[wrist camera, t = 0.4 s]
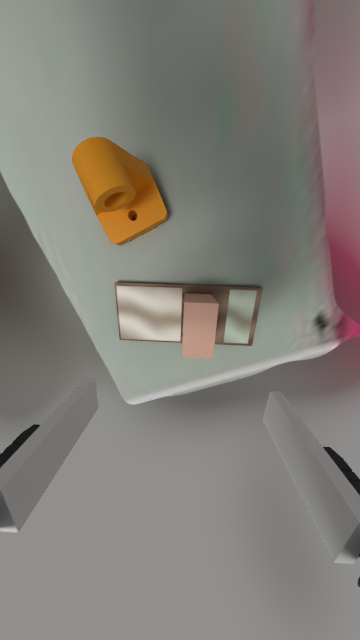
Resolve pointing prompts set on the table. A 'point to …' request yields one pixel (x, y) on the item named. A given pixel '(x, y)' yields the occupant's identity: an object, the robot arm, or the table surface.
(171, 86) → the table surface
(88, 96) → the table surface
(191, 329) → the stub
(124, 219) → the bracket
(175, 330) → the board
